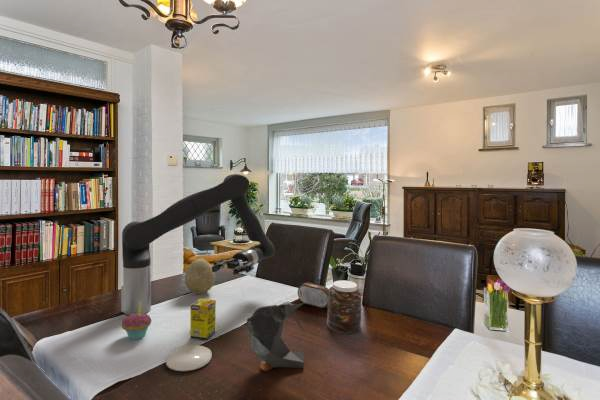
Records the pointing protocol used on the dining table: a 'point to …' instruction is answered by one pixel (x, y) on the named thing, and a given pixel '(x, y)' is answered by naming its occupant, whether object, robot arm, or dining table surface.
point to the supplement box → (202, 319)
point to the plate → (188, 358)
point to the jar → (344, 307)
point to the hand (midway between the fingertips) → (223, 270)
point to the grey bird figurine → (273, 336)
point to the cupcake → (136, 324)
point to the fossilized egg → (199, 276)
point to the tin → (313, 295)
